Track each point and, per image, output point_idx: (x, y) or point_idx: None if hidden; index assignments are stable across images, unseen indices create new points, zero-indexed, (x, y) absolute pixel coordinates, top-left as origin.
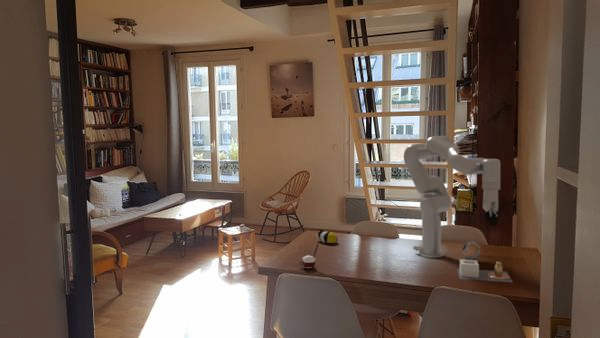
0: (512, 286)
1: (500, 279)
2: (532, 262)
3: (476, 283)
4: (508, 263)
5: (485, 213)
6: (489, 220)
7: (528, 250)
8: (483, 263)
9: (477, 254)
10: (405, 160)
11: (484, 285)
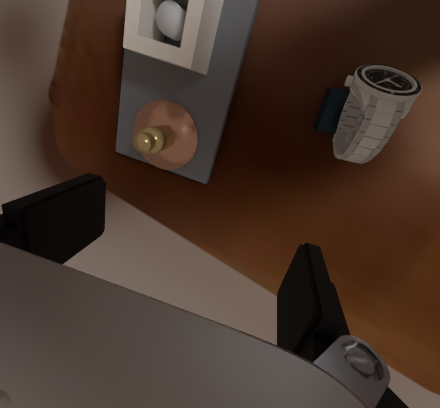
0: None
1: (134, 126)
2: None
3: None
4: None
5: (314, 307)
6: (55, 186)
7: (429, 374)
8: (339, 169)
9: (334, 141)
10: None
11: (117, 61)
